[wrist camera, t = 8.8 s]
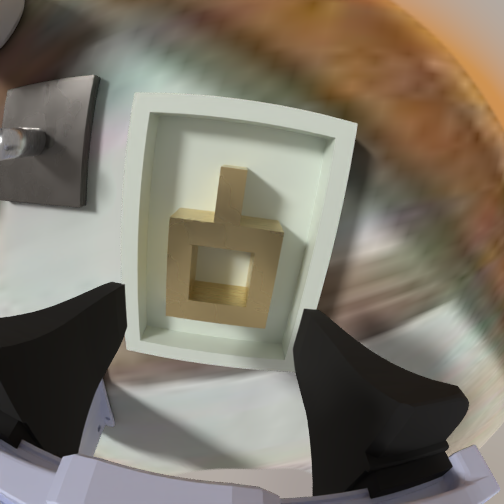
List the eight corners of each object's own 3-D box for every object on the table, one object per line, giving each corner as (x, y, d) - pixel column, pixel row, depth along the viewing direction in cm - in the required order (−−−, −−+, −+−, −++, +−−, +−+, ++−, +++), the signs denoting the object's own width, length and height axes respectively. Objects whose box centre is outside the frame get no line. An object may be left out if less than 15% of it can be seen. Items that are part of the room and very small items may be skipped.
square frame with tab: (262, 306, 18) (265, 328, 15) (174, 295, 17) (165, 315, 15) (286, 173, 15) (293, 177, 13) (185, 160, 14) (175, 161, 12)
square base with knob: (86, 204, 16) (45, 222, 11) (5, 197, 15) (-34, 212, 11) (100, 77, 13) (61, 61, 9) (14, 91, 12) (-26, 86, 8)
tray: (291, 351, 19) (296, 372, 17) (136, 330, 19) (126, 349, 16) (343, 126, 15) (357, 123, 12) (148, 99, 14) (134, 92, 12)
